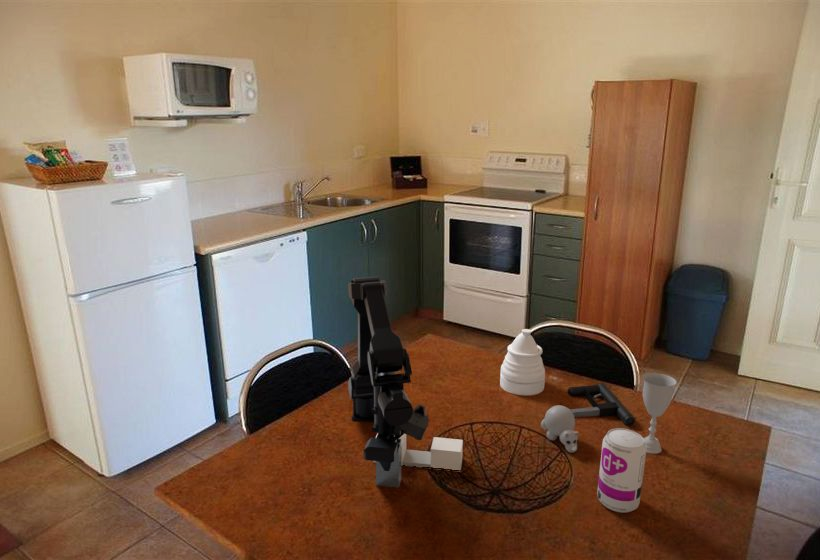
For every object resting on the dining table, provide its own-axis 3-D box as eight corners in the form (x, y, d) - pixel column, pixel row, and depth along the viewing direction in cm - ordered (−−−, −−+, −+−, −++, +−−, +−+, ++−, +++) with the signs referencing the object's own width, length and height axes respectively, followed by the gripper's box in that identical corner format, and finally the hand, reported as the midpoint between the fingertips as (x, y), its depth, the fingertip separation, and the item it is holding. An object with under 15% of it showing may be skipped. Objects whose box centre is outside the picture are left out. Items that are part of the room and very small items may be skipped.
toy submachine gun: (578, 421, 145) (640, 415, 146) (553, 385, 164) (608, 380, 165) (578, 432, 146) (639, 427, 147) (553, 395, 165) (608, 390, 166)
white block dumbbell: (373, 462, 131) (373, 443, 130) (378, 450, 136) (378, 431, 135) (460, 471, 128) (460, 452, 127) (462, 458, 133) (462, 439, 131)
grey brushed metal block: (376, 485, 123) (375, 444, 121) (379, 476, 126) (378, 436, 123) (398, 487, 123) (398, 446, 120) (401, 479, 125) (401, 439, 123)
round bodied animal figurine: (555, 463, 135) (563, 442, 130) (536, 423, 144) (543, 401, 139) (583, 459, 137) (592, 437, 132) (562, 419, 146) (570, 397, 141)
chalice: (667, 444, 139) (676, 376, 133) (666, 458, 133) (676, 388, 128) (634, 437, 142) (643, 370, 136) (632, 451, 136) (641, 382, 131)
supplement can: (618, 519, 113) (626, 453, 109) (588, 495, 120) (594, 432, 116) (647, 507, 116) (656, 442, 112) (616, 484, 123) (623, 423, 119)
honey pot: (548, 395, 162) (552, 336, 157) (503, 395, 162) (506, 336, 157) (539, 375, 175) (543, 320, 170) (497, 375, 175) (499, 320, 170)
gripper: (418, 428, 109) (418, 497, 113) (432, 383, 126) (431, 445, 131) (362, 422, 111) (363, 491, 115) (383, 379, 128) (384, 441, 133)
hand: (388, 465), depth 123 cm, fingers closed on grey brushed metal block, 3 cm apart
